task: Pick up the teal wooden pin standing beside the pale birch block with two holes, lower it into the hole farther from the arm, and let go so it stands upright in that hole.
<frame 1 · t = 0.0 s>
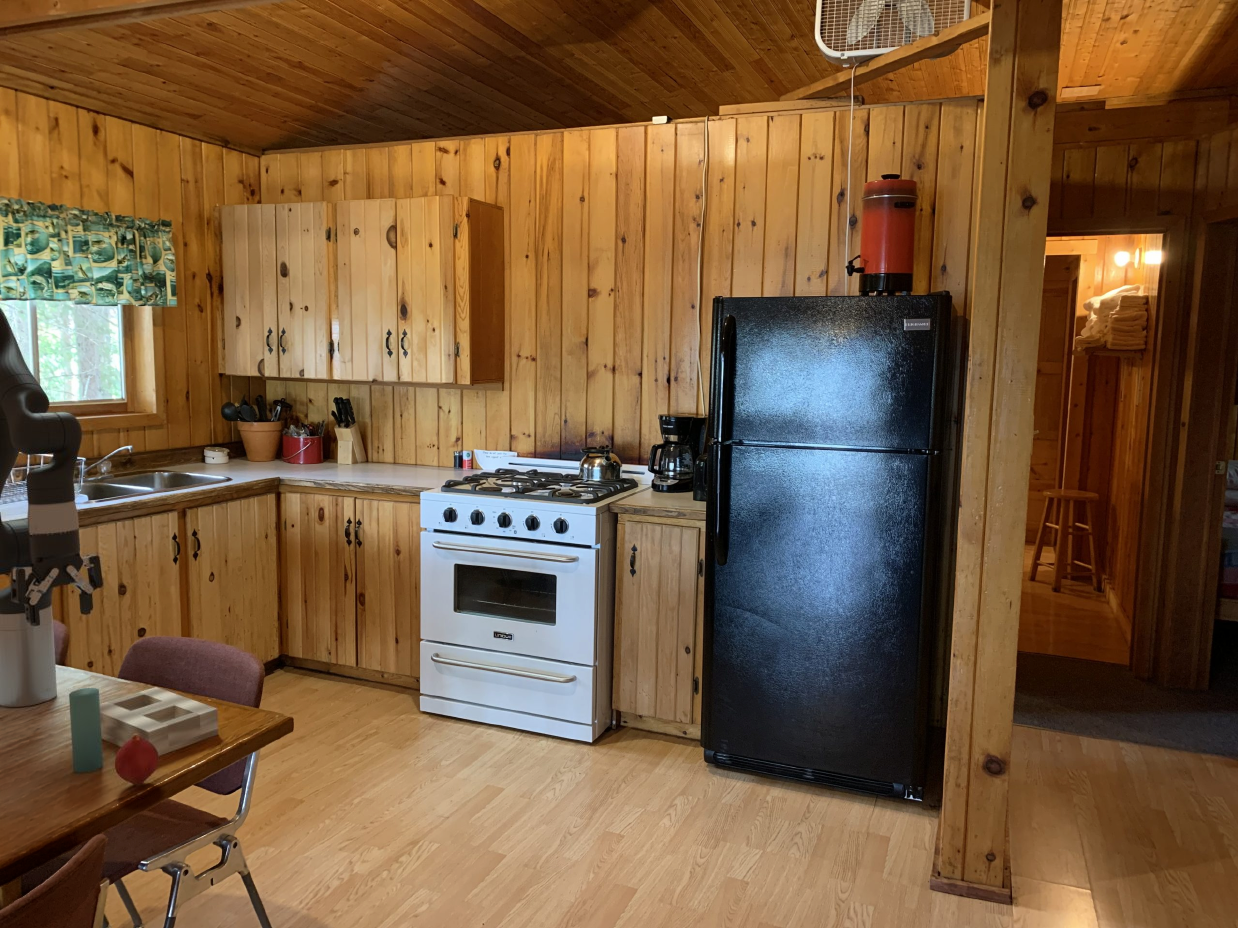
hand: (60, 619, 165), 17 cm above the table, tool pointing down, fingers open, 8 cm apart
pin: (88, 767, 146), on the table
onion: (138, 785, 141), on the table
hole board: (153, 733, 159), on the table
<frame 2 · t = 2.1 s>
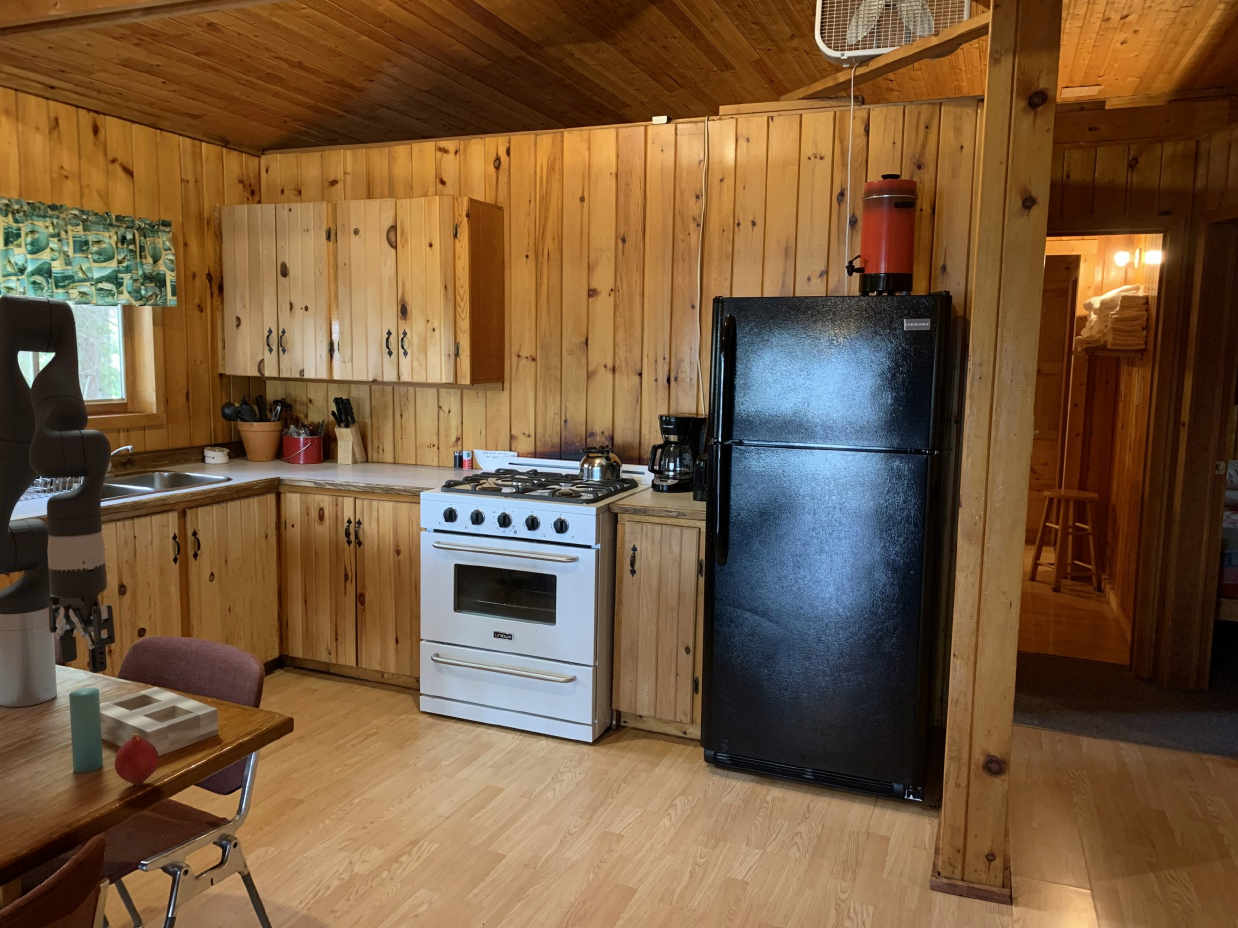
hand: (83, 666, 145), 16 cm above the table, tool pointing down, fingers open, 8 cm apart
nothing on the table moved.
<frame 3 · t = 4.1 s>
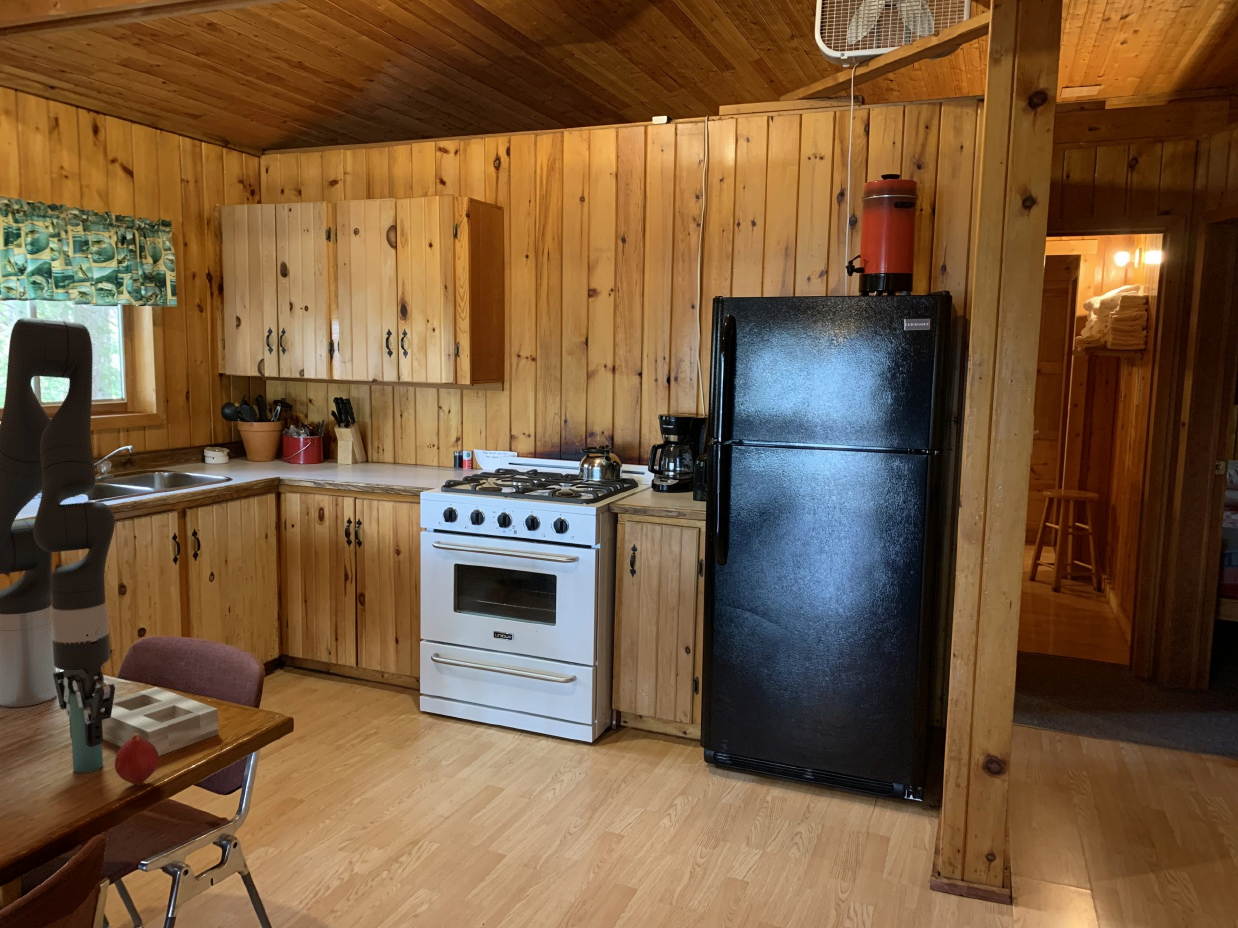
hand: (86, 740, 146), 4 cm above the table, tool pointing down, fingers closed on pin, 4 cm apart
pin: (88, 767, 146), on the table, touching gripper
everything else where it was.
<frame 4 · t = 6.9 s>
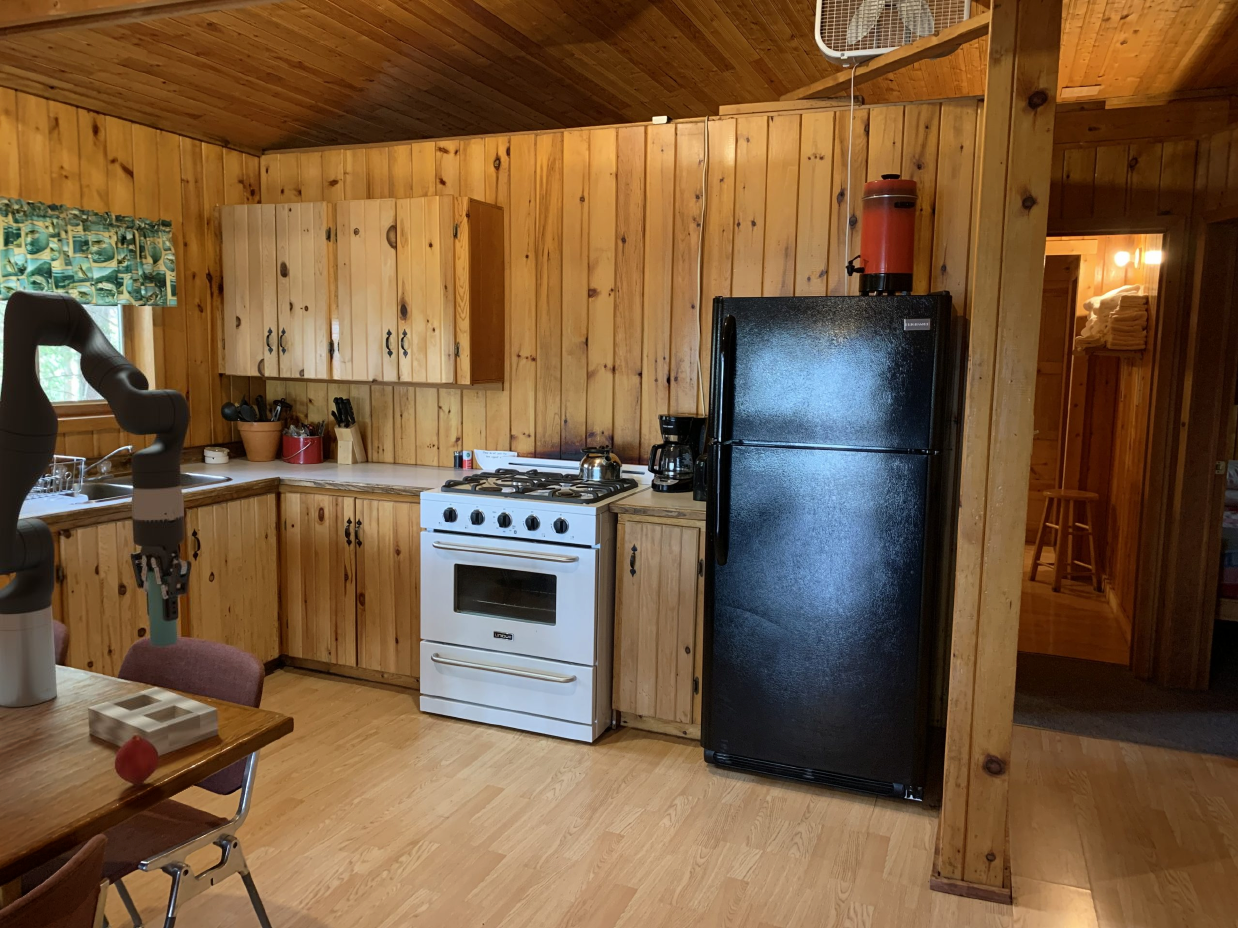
hand: (163, 617, 154), 21 cm above the table, tool pointing down, fingers closed on pin, 4 cm apart
pin: (164, 642, 155), point 17 cm above the table, touching gripper
everything else where it was.
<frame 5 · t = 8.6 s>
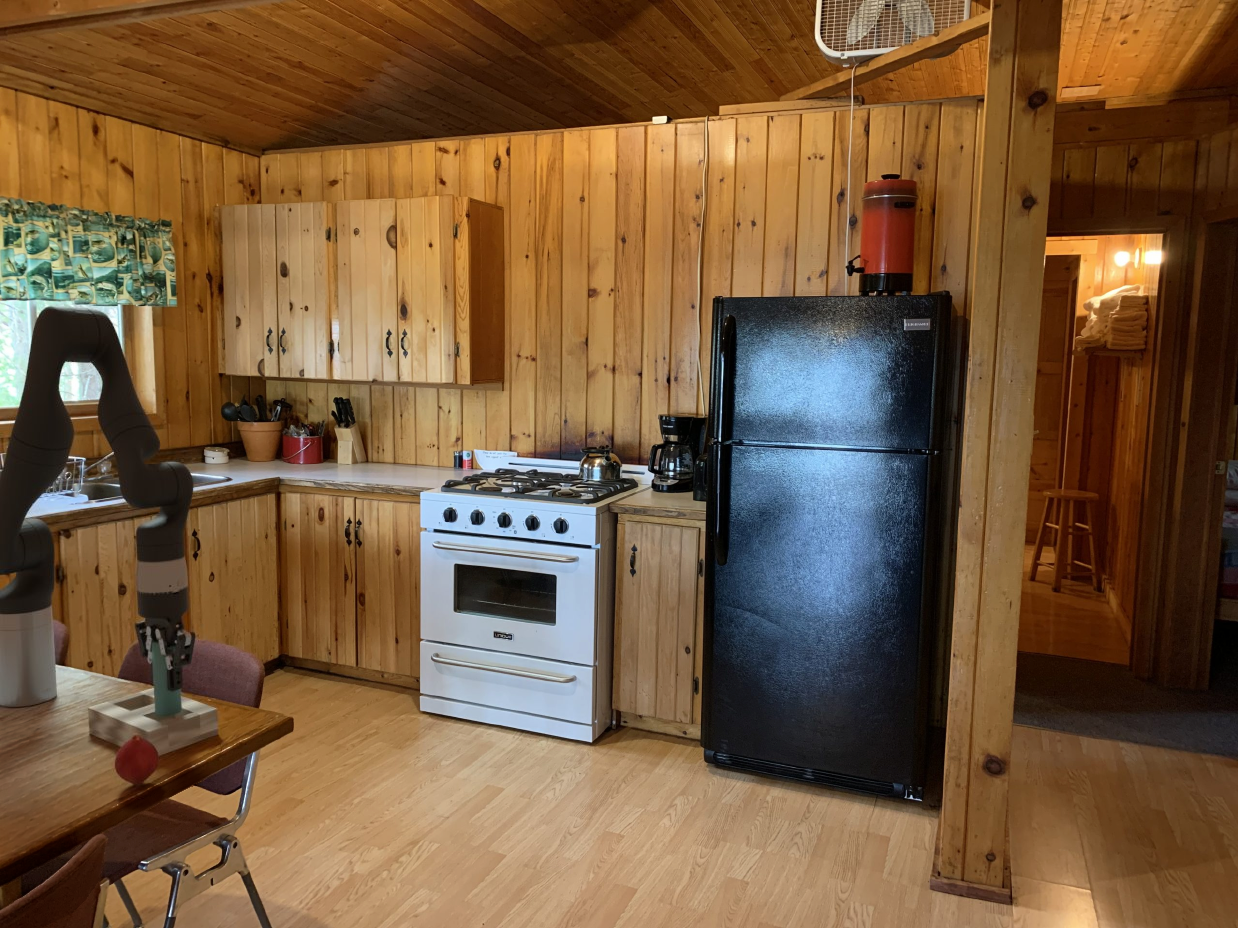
hand: (167, 686, 156), 9 cm above the table, tool pointing down, fingers closed on pin, 4 cm apart
pin: (168, 711, 156), point 5 cm above the table, touching gripper
everything else where it was.
when the fingers open (6 cm above the table, at t = 9.9 s): pin stays where it is, resting on hole board.
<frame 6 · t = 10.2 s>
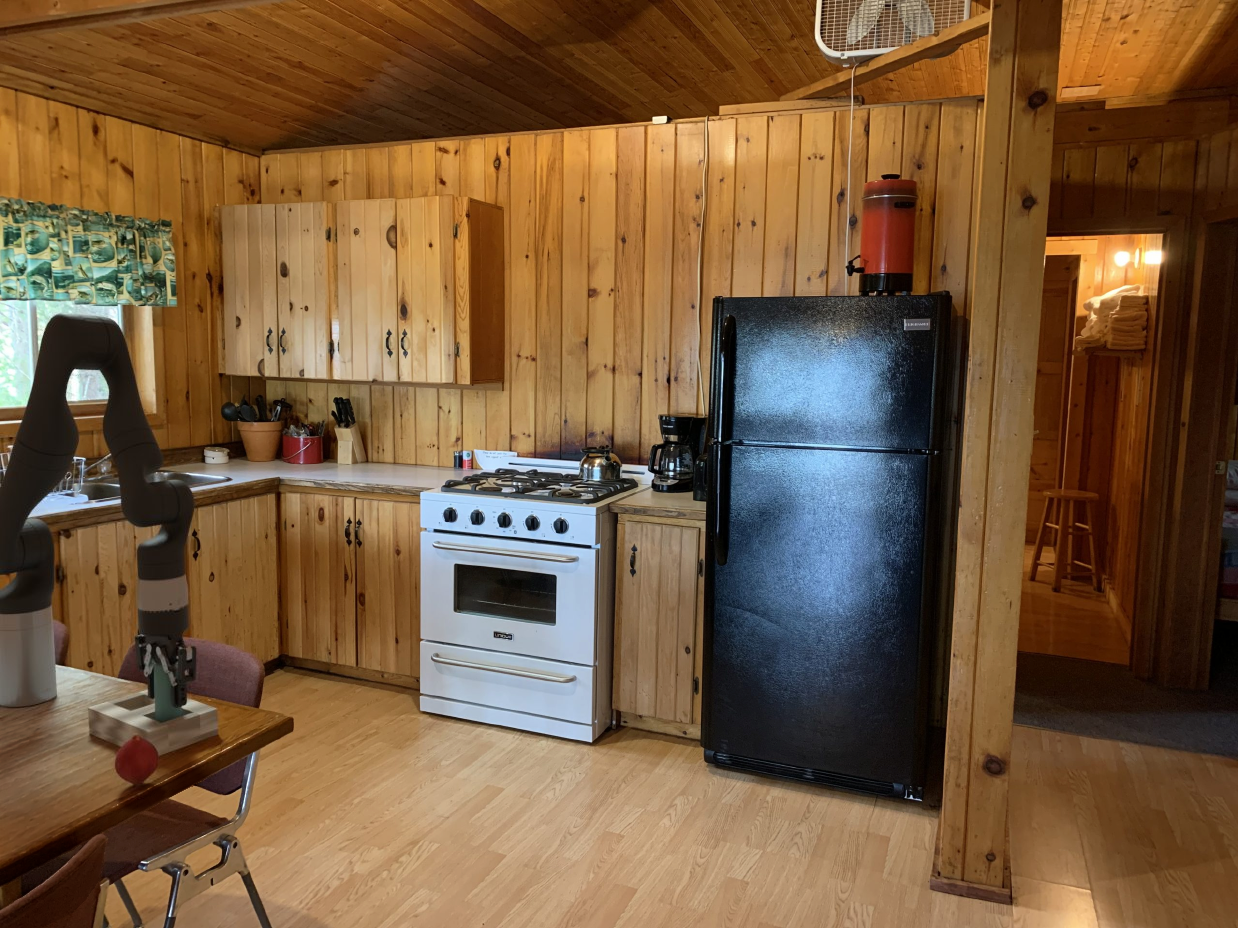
hand: (167, 701, 156), 7 cm above the table, tool pointing down, fingers open, 6 cm apart
pin: (169, 733, 157), point 1 cm above the table, touching hole board
everything else where it was.
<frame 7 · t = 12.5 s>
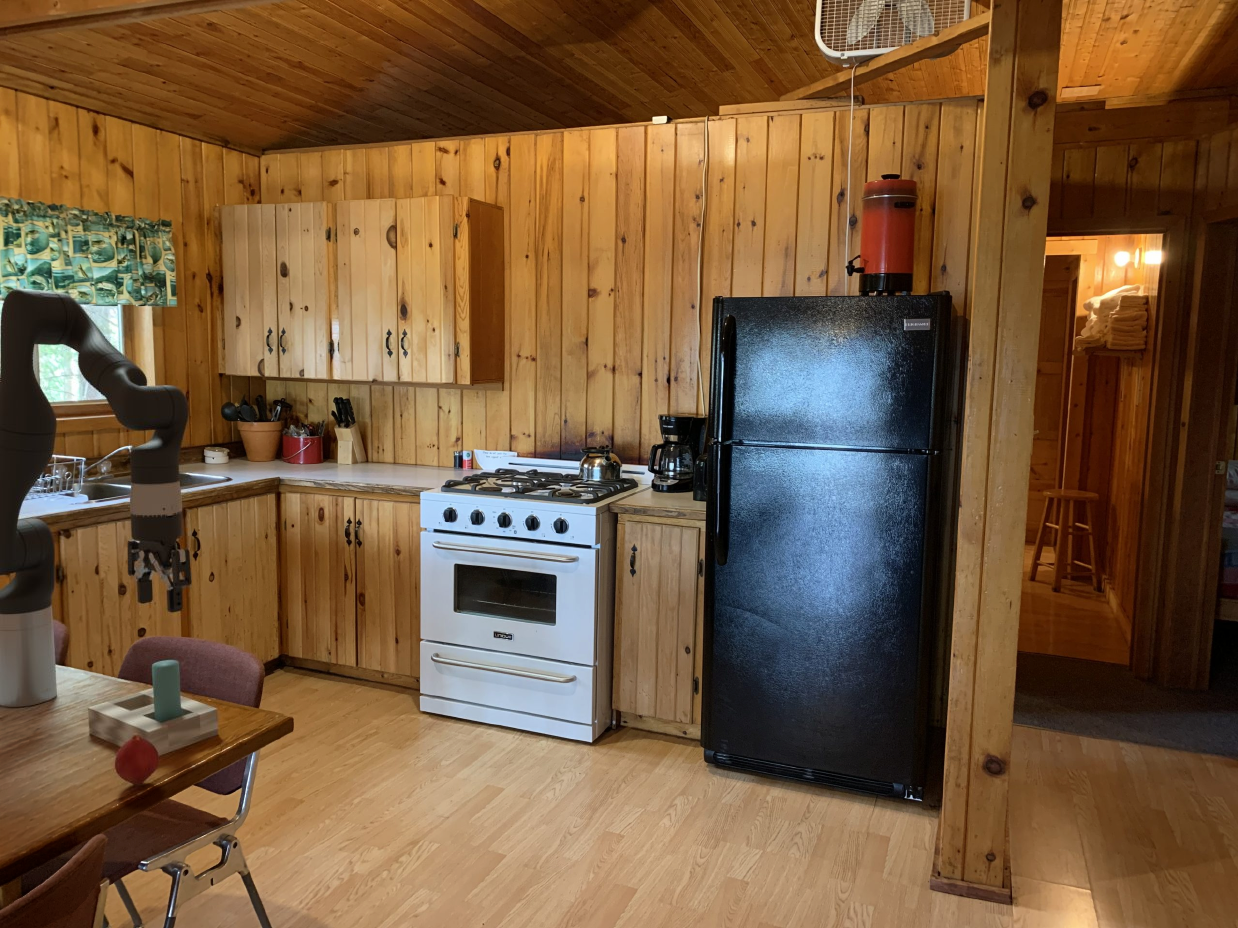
hand: (160, 606, 155), 22 cm above the table, tool pointing down, fingers open, 8 cm apart
nothing on the table moved.
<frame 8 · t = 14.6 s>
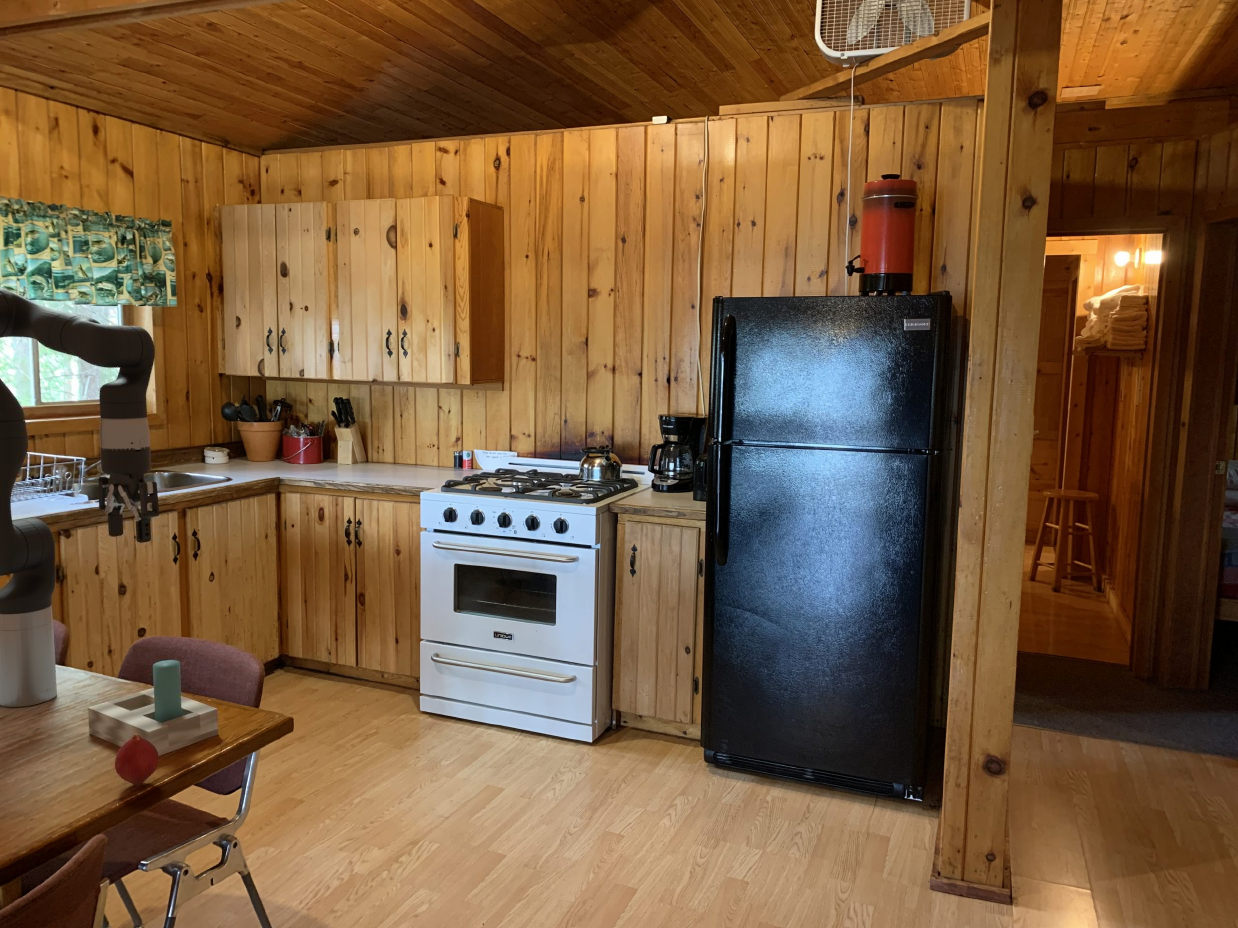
hand: (129, 538, 162), 32 cm above the table, tool pointing down, fingers open, 8 cm apart
nothing on the table moved.
at the end: pin 0.0 cm from the target spot on the hole board, point 1.0 cm above the hole board's base; pin tilted 1°; the gripper is holding nothing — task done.
